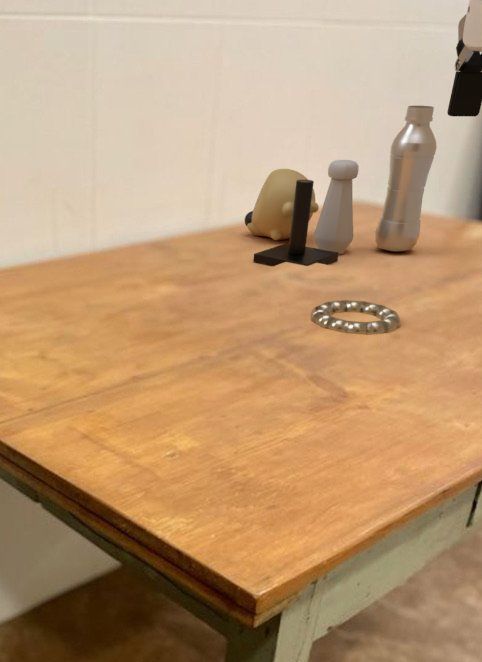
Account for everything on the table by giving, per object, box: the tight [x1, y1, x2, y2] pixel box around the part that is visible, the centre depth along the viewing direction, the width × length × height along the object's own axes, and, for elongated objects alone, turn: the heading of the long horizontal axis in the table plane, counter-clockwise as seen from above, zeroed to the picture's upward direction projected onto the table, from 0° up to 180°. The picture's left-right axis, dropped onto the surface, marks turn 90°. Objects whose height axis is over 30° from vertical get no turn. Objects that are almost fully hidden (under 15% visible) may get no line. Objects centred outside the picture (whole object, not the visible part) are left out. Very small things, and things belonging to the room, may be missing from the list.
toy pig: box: [244, 168, 320, 241], centre depth 131 cm, size 10×12×11 cm
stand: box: [252, 179, 340, 267], centre depth 118 cm, size 9×9×11 cm
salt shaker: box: [313, 159, 359, 255], centre depth 122 cm, size 6×6×13 cm
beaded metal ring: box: [310, 299, 402, 336], centre depth 94 cm, size 10×10×2 cm
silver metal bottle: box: [375, 105, 438, 253], centre depth 121 cm, size 6×7×20 cm
